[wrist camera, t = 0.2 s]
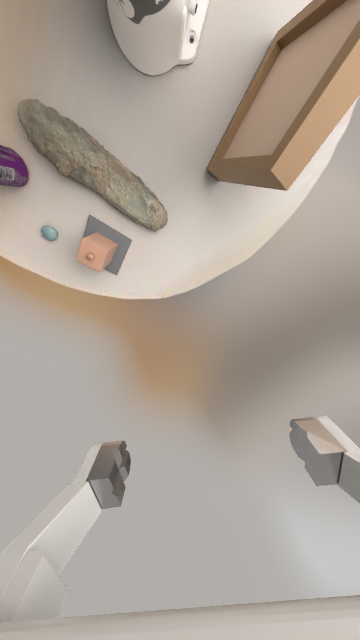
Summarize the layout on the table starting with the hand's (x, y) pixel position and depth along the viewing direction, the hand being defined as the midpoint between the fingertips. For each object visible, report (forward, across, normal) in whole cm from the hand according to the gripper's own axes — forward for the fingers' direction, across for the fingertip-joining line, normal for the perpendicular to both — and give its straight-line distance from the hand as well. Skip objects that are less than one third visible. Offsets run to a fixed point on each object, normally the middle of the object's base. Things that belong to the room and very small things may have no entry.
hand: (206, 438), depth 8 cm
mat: (+49, +21, -17) cm, 56 cm away
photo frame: (+44, -23, -33) cm, 59 cm away
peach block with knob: (+48, +21, -17) cm, 56 cm away
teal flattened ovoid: (+47, +34, -23) cm, 63 cm away
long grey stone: (+45, +15, -32) cm, 57 cm away
